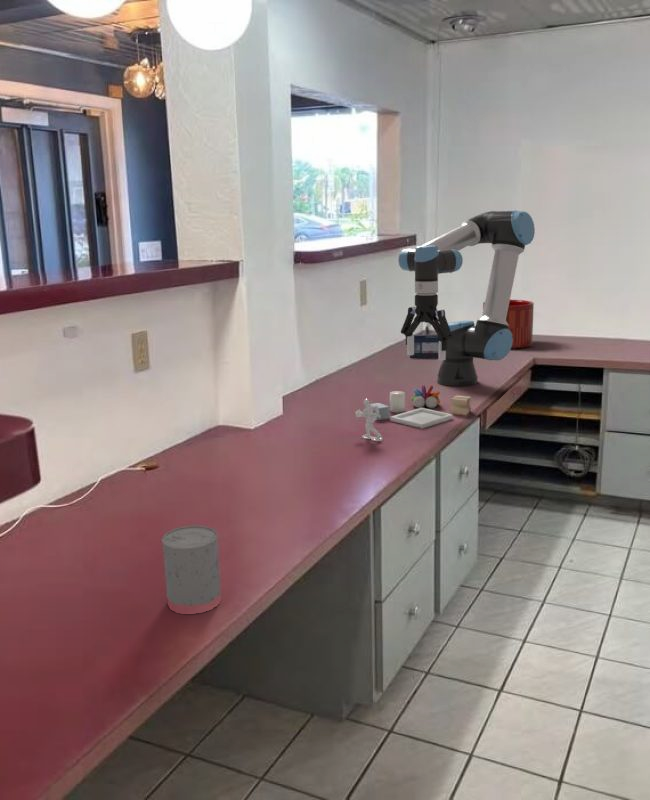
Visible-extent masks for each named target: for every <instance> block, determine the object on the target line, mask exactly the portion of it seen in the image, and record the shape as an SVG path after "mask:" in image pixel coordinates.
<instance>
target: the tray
mask: <svg viewBox="0 0 650 800" xmlns="http://www.w3.org/2000/svg"><path fill="white" fill-rule="evenodd" d="M389 419H390V422H393V423H396V424H397V423H398V424H400V425H401V424H402V425H405V426H409V427H412V428H417V429H421V430H422V429H426V428H429V427H431V426H434V425H438V424H442V423H445V422H447V421H451V420H453V419H454V414H451V413H446V412H443V411H439V410H433V409H431V408H425V407H422V408H415V409H413V410H412V409H411V410H409V411H404V412H400V413H398V414H395V415H391V416H389Z"/></svg>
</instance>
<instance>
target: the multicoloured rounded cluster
mask: <svg viewBox="0 0 650 800" xmlns="http://www.w3.org/2000/svg"><path fill="white" fill-rule="evenodd" d="M433 389H434V386H433V385H430V386H429V388H428V390H427V389H426V386H425V384H422V385H421V390H420V389H418V388H415V389H413V392H414V394H415V395H414V396H412V397H411V401H412V403H413V406H414V407H415V408H416V409H419V408H424V407H425V406H426V407H428V408H427V409H434V408H435V407H437V405H440V403H441V400H440V398H439V395H440V391H438V390H437V391H434V392H432V390H433Z"/></svg>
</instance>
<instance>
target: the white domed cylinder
mask: <svg viewBox="0 0 650 800" xmlns="http://www.w3.org/2000/svg"><path fill="white" fill-rule="evenodd" d="M389 412H391V413H398V414H399V413H405V412H406V392H405V391H399V390H396V391H395V390H394V391H390V392H389Z"/></svg>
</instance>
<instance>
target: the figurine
mask: <svg viewBox="0 0 650 800" xmlns="http://www.w3.org/2000/svg"><path fill="white" fill-rule="evenodd" d="M369 404H370V400H369V399H367V398H364V400H363V406H364V408H363V409H362V410H363V411H361V409H360V408H359V409H358V410H356V411H355V413H354V414H355V416H356V418H359V417H361V418H362V417H363V418H364V419H365V418H366V419H365V422H366V423H365V424H364V425H365V427H364V428H365V432H366V434H363V435H362V436H361V438H362V439H366V440H370V439H371V440H370V441H373V442H383V441H384V438H383V437H382V434H381V433H380V432H379V431H378V430H377V429H376V428H375V427H374V424H373V423H374V422H375V421H378V420H377V418H376V417H379V418H381V415H379V409H378V406H369ZM374 409H375V410H376V414H375V413H373V410H374ZM371 432H372V433H373V434H374V435H375V436H372V435H371Z"/></svg>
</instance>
